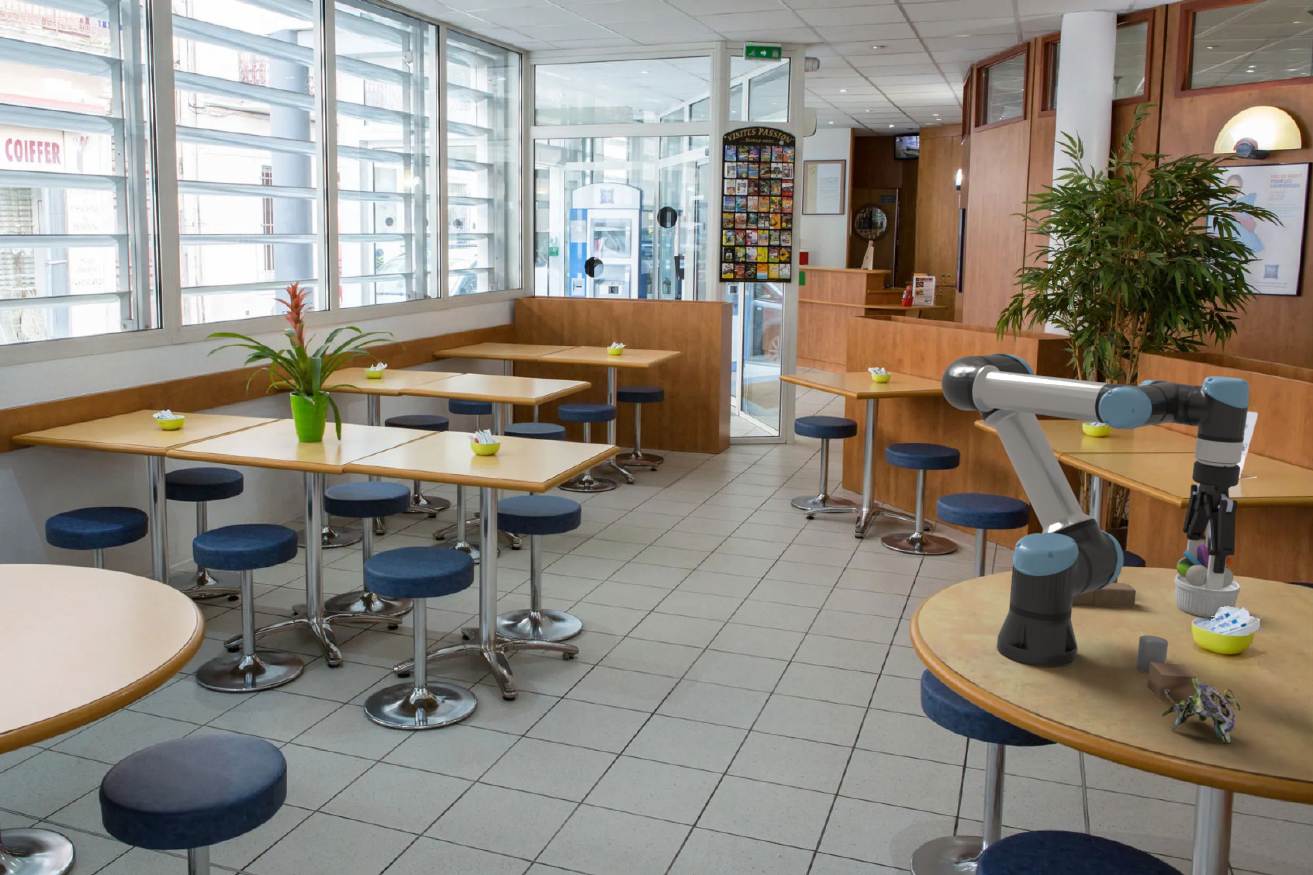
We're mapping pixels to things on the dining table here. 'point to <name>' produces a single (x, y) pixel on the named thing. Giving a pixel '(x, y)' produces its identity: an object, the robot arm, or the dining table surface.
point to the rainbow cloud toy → (1201, 567)
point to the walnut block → (1170, 681)
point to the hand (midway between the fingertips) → (1202, 581)
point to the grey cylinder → (1151, 652)
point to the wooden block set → (1109, 596)
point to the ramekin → (1203, 597)
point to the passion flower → (1207, 708)
